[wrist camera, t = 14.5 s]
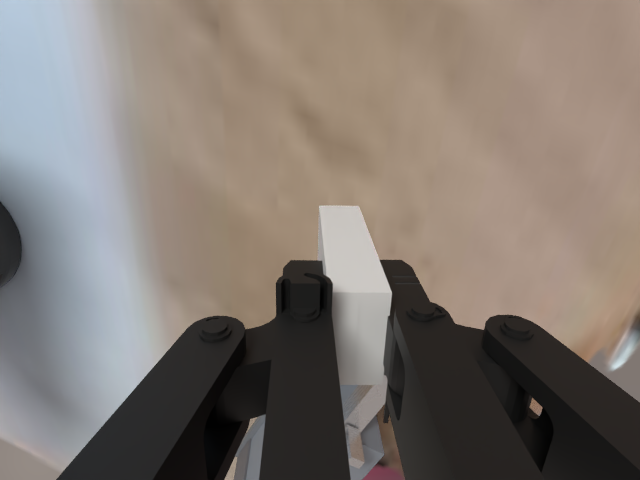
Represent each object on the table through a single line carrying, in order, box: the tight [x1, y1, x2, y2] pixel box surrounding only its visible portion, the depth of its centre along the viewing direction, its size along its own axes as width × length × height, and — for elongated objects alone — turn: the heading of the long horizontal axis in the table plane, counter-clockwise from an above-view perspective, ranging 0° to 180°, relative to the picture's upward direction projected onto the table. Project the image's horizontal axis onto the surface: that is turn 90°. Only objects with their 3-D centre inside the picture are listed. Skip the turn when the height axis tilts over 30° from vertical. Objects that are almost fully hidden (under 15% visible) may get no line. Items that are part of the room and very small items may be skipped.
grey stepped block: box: [234, 385, 384, 480], centre depth 50 cm, size 32×11×13 cm, turn 149°
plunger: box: [342, 369, 388, 469], centre depth 45 cm, size 17×6×8 cm, turn 149°
